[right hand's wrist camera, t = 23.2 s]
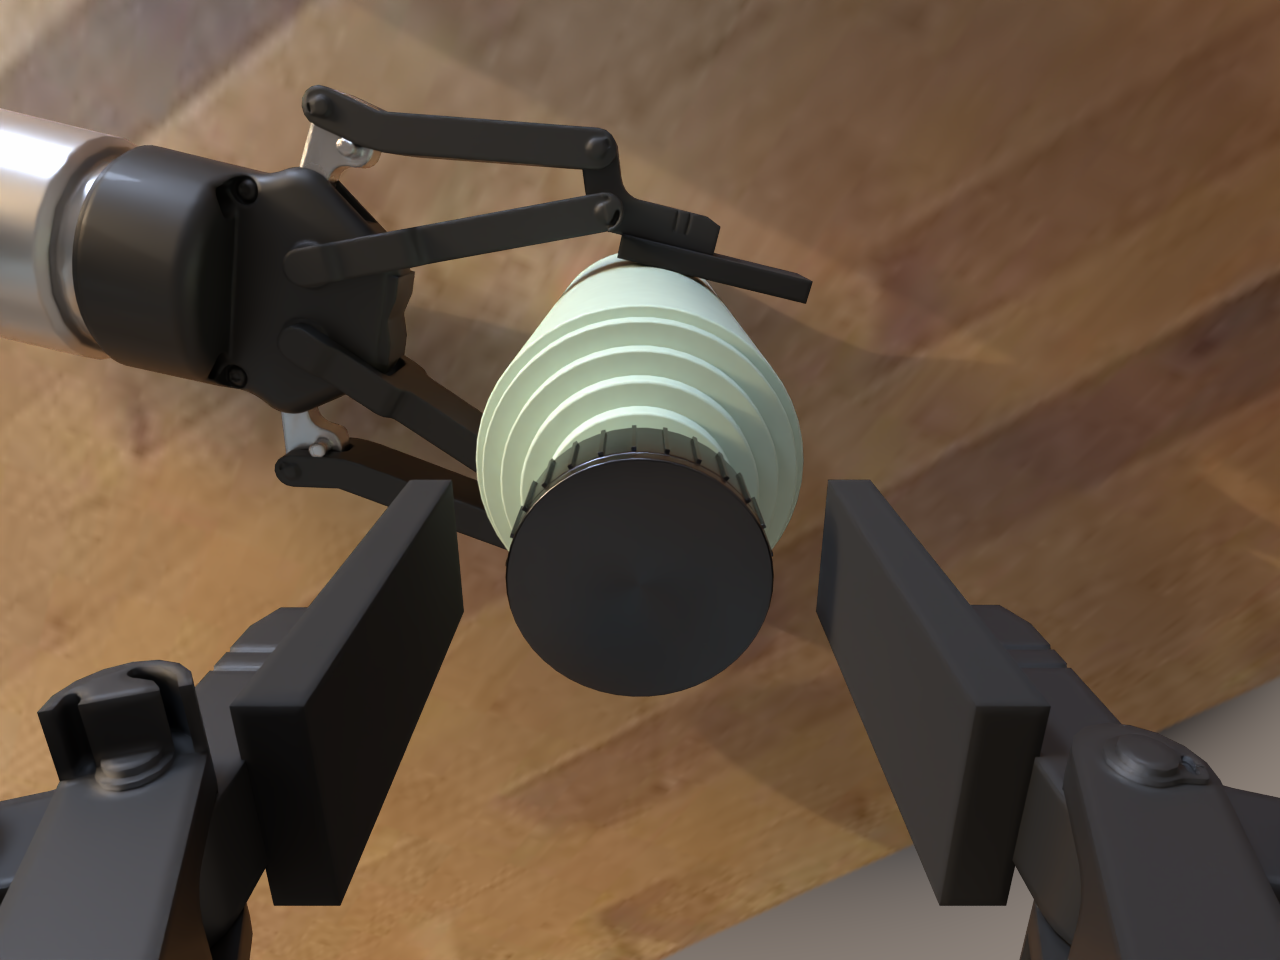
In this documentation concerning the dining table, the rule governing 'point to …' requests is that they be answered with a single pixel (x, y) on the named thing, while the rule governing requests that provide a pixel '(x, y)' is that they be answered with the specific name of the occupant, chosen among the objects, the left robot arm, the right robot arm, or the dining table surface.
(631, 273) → the bottle
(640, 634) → the cap
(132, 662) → the right robot arm
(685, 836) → the dining table surface
